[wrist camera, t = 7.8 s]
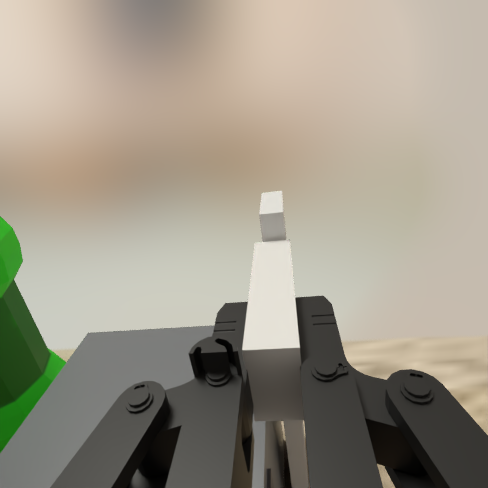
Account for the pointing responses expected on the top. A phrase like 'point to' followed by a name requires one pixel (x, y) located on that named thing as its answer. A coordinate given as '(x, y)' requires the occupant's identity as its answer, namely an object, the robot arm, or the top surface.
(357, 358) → the top surface
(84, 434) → the housing
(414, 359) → the top surface
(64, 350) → the top surface
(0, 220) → the plastic bottle
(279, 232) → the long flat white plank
